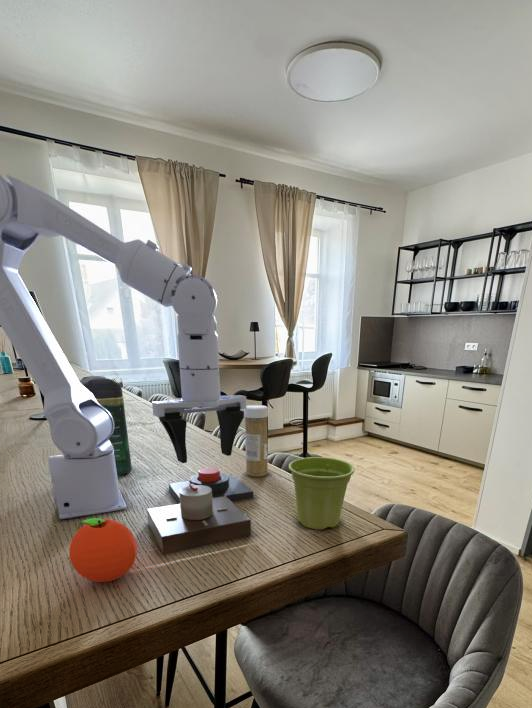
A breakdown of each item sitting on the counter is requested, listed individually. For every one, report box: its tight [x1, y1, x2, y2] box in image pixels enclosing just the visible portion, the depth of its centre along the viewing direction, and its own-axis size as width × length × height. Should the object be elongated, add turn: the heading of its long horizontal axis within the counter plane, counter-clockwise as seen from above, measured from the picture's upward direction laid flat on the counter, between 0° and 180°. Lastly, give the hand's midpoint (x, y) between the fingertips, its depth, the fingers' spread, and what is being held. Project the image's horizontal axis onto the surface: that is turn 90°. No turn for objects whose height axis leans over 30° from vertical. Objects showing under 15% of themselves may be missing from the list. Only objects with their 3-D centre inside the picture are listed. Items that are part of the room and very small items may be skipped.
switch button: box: [197, 467, 221, 482], centre depth 70 cm, size 4×4×2 cm
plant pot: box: [288, 456, 356, 530], centre depth 60 cm, size 9×9×9 cm
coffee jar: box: [79, 375, 133, 477], centre depth 80 cm, size 10×8×19 cm
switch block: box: [168, 472, 254, 504], centre depth 71 cm, size 12×10×3 cm
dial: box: [179, 483, 213, 520], centre depth 57 cm, size 4×4×4 cm
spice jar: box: [243, 404, 269, 478], centre depth 80 cm, size 5×5×13 cm
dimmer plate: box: [146, 496, 252, 555], centre depth 58 cm, size 12×10×3 cm
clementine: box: [68, 517, 138, 583], centre depth 46 cm, size 8×7×7 cm
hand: (205, 457), depth 65 cm, fingers open, 7 cm apart
